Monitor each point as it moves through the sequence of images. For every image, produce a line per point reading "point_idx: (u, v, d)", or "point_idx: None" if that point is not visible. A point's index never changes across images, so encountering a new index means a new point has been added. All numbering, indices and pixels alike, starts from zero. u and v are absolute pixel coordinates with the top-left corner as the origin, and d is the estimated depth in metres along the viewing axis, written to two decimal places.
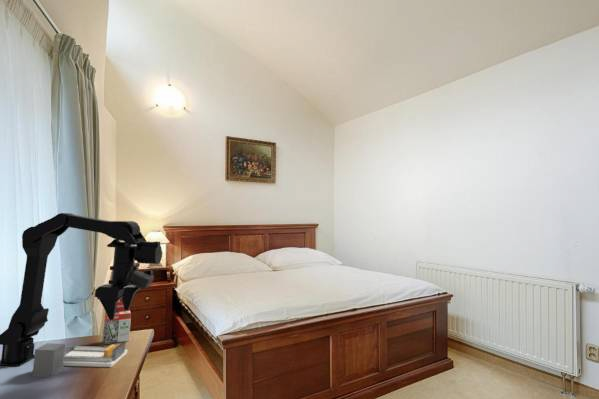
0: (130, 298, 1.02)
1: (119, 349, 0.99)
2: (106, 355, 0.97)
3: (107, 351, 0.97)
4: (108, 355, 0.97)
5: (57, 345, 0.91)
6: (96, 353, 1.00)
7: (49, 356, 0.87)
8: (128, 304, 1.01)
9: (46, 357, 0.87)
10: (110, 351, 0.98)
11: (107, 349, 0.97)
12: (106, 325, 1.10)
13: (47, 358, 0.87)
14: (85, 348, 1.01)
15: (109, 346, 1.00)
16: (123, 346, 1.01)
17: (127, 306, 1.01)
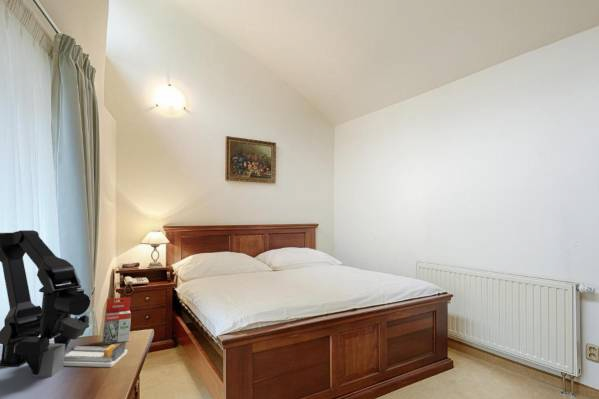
0: None
1: (119, 349, 0.99)
2: (106, 355, 0.97)
3: (107, 351, 0.97)
4: (108, 355, 0.97)
5: (57, 345, 0.91)
6: (96, 353, 1.00)
7: (49, 356, 0.87)
8: None
9: (46, 357, 0.87)
10: (110, 351, 0.98)
11: (107, 349, 0.97)
12: (106, 325, 1.10)
13: (47, 358, 0.87)
14: (85, 348, 1.01)
15: (109, 346, 1.00)
16: (123, 346, 1.01)
17: None
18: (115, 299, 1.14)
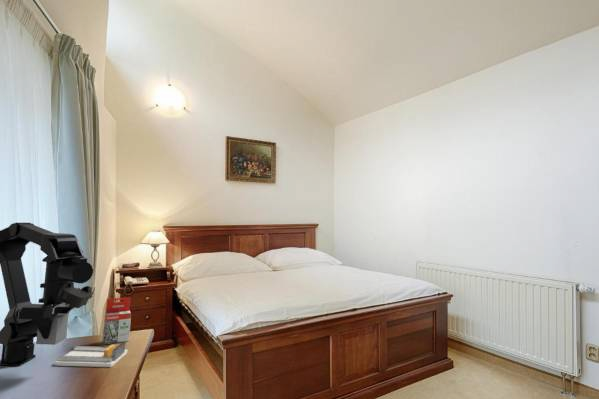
0: None
1: (119, 349, 0.99)
2: (106, 355, 0.97)
3: (107, 351, 0.97)
4: (108, 355, 0.97)
5: (60, 314, 0.91)
6: (96, 353, 1.00)
7: (52, 324, 0.88)
8: None
9: None
10: (110, 351, 0.98)
11: (107, 349, 0.97)
12: (106, 325, 1.10)
13: None
14: (85, 348, 1.01)
15: (109, 346, 1.00)
16: (123, 346, 1.01)
17: None
18: (115, 299, 1.14)
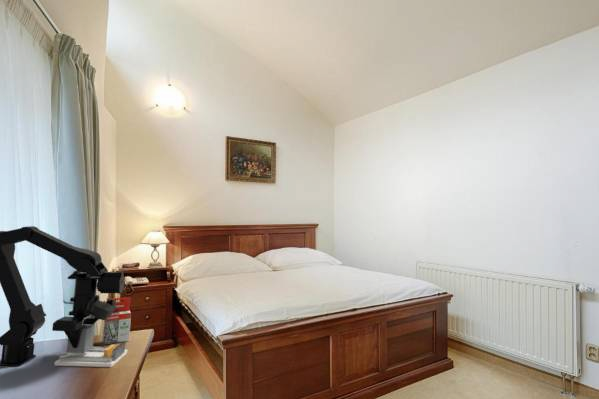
0: None
1: (119, 349, 0.99)
2: (106, 355, 0.97)
3: (107, 351, 0.97)
4: (108, 355, 0.97)
5: (88, 325, 1.00)
6: (96, 353, 1.00)
7: (81, 335, 0.97)
8: None
9: None
10: (110, 351, 0.98)
11: (107, 349, 0.97)
12: (106, 325, 1.10)
13: None
14: None
15: (109, 346, 1.00)
16: (123, 346, 1.01)
17: None
18: (115, 299, 1.14)
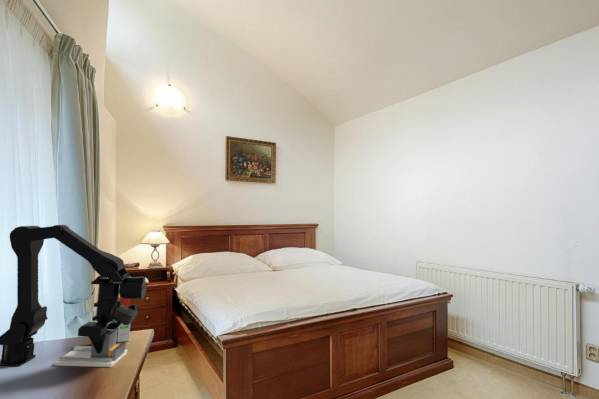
0: None
1: (119, 349, 0.99)
2: (110, 355, 0.97)
3: (111, 351, 0.97)
4: None
5: (111, 330, 1.00)
6: None
7: (105, 340, 0.97)
8: None
9: None
10: None
11: (111, 349, 0.98)
12: None
13: None
14: (85, 348, 1.01)
15: (113, 346, 1.00)
16: (123, 346, 1.01)
17: None
18: None
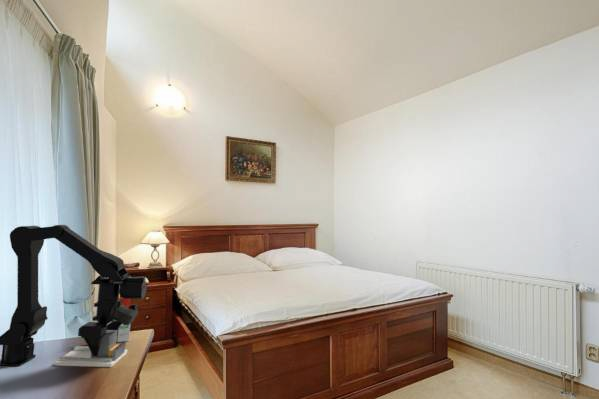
0: None
1: (119, 349, 0.99)
2: (111, 355, 0.97)
3: None
4: None
5: (110, 331, 1.00)
6: None
7: (105, 341, 0.97)
8: None
9: (103, 342, 0.97)
10: None
11: (112, 349, 0.98)
12: None
13: (103, 342, 0.97)
14: (85, 348, 1.01)
15: None
16: (123, 346, 1.01)
17: None
18: None
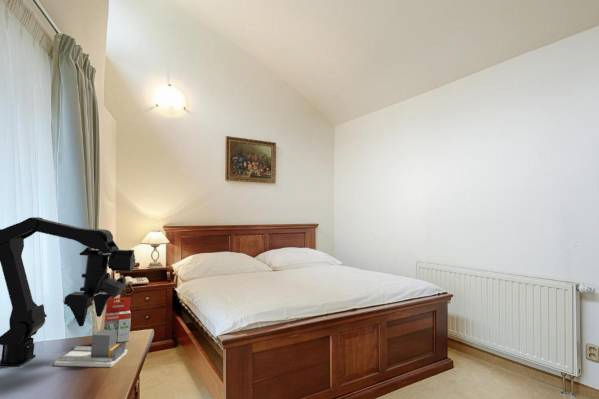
0: (103, 305, 1.04)
1: (119, 349, 0.99)
2: (111, 355, 0.97)
3: None
4: None
5: (110, 331, 1.00)
6: None
7: (105, 341, 0.97)
8: (100, 311, 1.04)
9: (103, 342, 0.97)
10: None
11: (112, 349, 0.98)
12: (106, 325, 1.10)
13: (103, 342, 0.97)
14: (85, 348, 1.01)
15: None
16: (123, 346, 1.01)
17: (99, 313, 1.04)
18: (115, 299, 1.14)
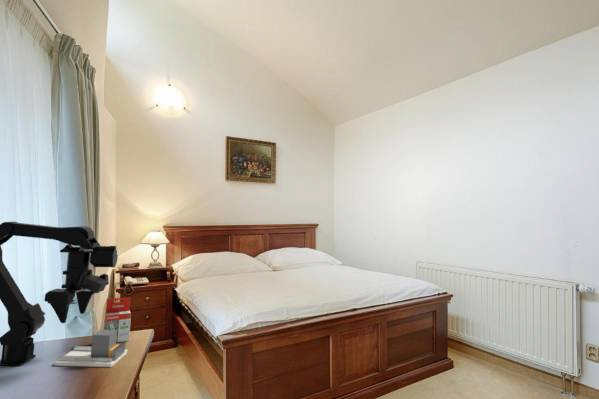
0: (86, 302, 1.04)
1: (119, 349, 0.99)
2: (111, 355, 0.97)
3: None
4: None
5: (110, 331, 1.00)
6: None
7: (105, 341, 0.97)
8: (84, 308, 1.03)
9: (103, 342, 0.97)
10: None
11: (112, 349, 0.98)
12: (106, 325, 1.10)
13: (103, 342, 0.97)
14: (85, 348, 1.01)
15: None
16: (123, 346, 1.01)
17: (83, 309, 1.03)
18: (115, 299, 1.14)
